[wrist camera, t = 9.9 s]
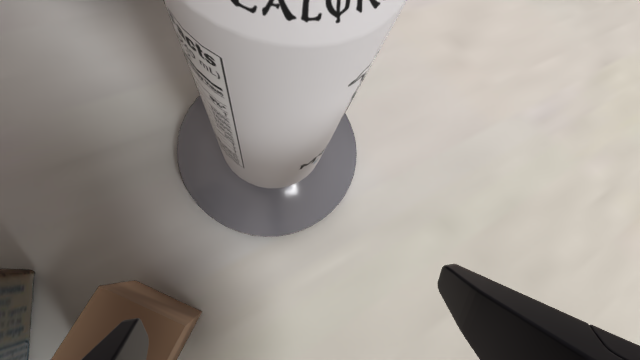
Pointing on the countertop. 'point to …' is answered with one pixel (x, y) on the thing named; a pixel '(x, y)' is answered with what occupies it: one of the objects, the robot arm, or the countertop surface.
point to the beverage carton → (15, 313)
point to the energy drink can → (279, 75)
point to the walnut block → (128, 303)
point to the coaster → (257, 202)
